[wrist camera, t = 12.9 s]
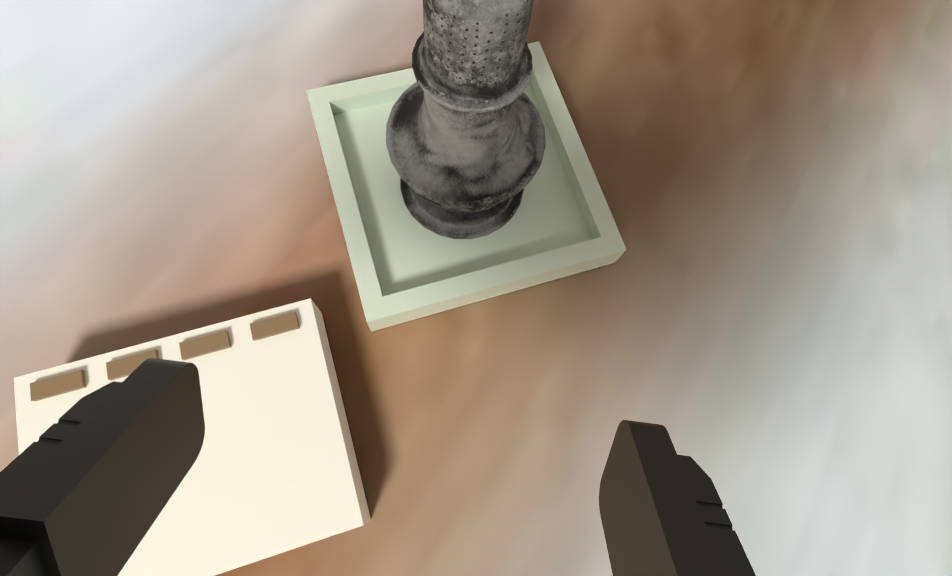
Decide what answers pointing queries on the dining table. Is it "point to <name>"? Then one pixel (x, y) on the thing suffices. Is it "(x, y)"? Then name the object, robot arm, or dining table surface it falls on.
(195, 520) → the board
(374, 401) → the dining table surface
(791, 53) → the dining table surface
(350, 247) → the tray
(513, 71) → the grey stone rounded piece
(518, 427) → the dining table surface
